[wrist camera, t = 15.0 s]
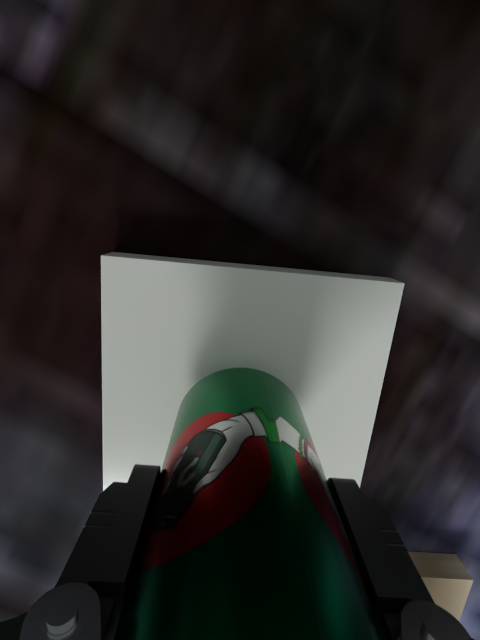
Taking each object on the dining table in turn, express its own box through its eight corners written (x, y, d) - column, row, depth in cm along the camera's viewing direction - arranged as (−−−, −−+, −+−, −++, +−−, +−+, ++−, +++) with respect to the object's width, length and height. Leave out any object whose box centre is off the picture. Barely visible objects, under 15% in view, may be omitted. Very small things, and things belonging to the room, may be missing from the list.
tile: (113, 487, 19) (103, 509, 17) (113, 251, 15) (100, 255, 14) (342, 502, 19) (351, 525, 18) (389, 277, 16) (404, 283, 14)
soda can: (161, 447, 15) (-58, 1154, 4) (204, 342, 14) (75, 910, 3) (270, 484, 16) (372, 1189, 4) (320, 387, 15) (646, 1006, 3)
